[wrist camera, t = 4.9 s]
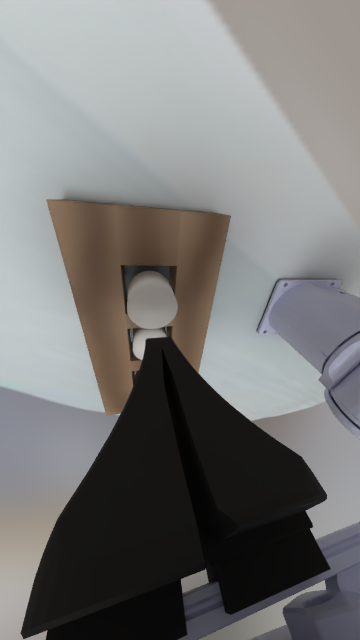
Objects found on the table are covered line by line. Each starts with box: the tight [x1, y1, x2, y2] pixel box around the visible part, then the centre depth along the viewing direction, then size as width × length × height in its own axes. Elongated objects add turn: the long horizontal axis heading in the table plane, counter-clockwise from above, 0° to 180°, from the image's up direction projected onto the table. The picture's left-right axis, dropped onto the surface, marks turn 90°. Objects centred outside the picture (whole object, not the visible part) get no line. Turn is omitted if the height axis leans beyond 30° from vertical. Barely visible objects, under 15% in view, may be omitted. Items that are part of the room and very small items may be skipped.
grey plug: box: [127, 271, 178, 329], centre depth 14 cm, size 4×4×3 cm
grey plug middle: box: [133, 327, 167, 360], centre depth 19 cm, size 4×4×3 cm
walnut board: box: [47, 200, 231, 415], centre depth 20 cm, size 12×24×3 cm, turn 174°
